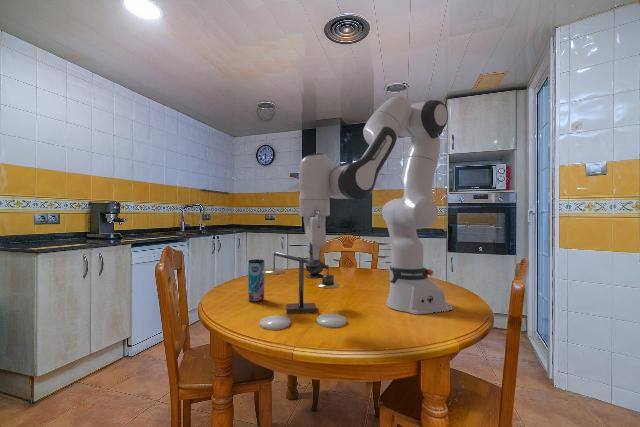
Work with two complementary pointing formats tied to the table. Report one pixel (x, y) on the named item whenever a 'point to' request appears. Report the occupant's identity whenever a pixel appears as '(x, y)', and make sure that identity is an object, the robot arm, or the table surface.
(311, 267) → the chess piece
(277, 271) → the balance
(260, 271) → the beverage can
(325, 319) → the dish low side
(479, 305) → the table surface
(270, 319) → the dish high side
